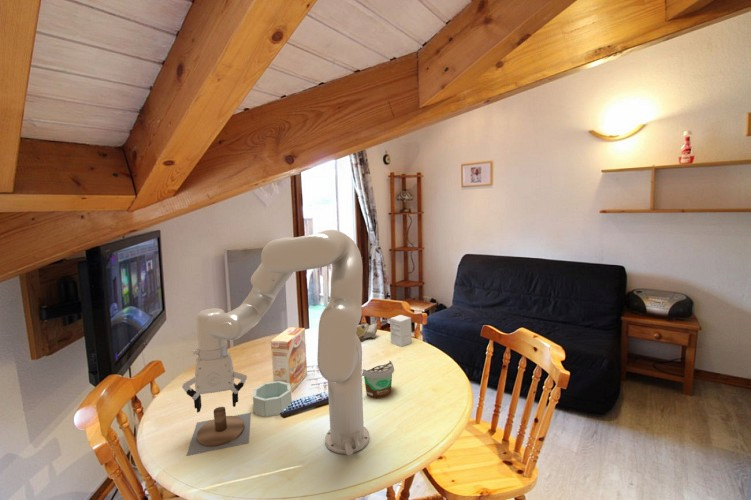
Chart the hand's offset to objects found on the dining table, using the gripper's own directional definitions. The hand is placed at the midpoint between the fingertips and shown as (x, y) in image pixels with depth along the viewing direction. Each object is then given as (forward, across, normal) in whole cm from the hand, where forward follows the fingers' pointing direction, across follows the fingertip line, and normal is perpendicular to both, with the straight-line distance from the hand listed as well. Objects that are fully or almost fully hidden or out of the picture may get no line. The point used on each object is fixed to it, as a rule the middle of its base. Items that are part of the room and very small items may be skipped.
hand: (217, 407), depth 107 cm
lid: (+8, +1, 0) cm, 8 cm away
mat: (+9, +1, 0) cm, 9 cm away
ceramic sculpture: (+8, +60, +59) cm, 85 cm away
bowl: (+8, +16, +10) cm, 20 cm away
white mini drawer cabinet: (+7, +76, +47) cm, 89 cm away
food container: (+8, +53, +5) cm, 54 cm away
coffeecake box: (+8, +23, +25) cm, 35 cm away
